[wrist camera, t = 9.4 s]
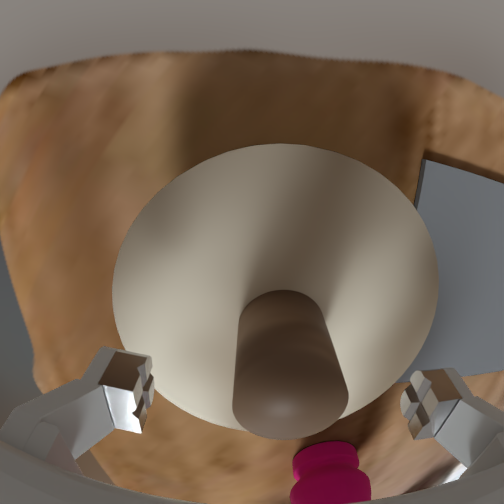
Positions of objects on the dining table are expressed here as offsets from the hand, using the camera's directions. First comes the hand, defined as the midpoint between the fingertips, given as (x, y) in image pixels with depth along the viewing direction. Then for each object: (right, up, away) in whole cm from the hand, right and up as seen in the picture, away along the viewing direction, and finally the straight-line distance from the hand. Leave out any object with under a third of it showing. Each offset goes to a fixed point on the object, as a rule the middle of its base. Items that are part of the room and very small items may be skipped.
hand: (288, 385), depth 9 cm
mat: (+16, +1, +10) cm, 19 cm away
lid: (0, +1, +4) cm, 4 cm away
